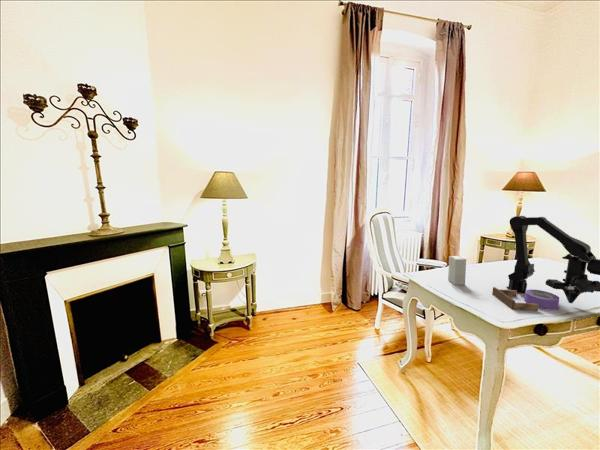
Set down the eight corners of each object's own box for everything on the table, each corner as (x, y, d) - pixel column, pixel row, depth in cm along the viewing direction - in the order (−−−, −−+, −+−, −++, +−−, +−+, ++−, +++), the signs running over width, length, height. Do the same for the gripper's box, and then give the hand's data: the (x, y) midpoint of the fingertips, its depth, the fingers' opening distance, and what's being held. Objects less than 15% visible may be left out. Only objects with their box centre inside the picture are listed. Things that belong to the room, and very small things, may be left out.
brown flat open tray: (511, 309, 118) (512, 300, 117) (492, 294, 133) (493, 287, 132) (538, 311, 116) (539, 302, 115) (515, 296, 131) (516, 288, 131)
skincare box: (465, 285, 145) (467, 259, 143) (453, 285, 146) (456, 259, 144) (457, 279, 154) (459, 255, 151) (446, 279, 154) (449, 255, 152)
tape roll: (546, 312, 115) (547, 301, 115) (517, 300, 126) (519, 290, 126) (564, 308, 119) (566, 297, 118) (535, 297, 130) (536, 288, 129)
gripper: (566, 275, 112) (561, 309, 114) (618, 277, 108) (611, 313, 111) (547, 267, 122) (542, 298, 125) (593, 269, 119) (588, 301, 122)
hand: (570, 302), depth 120 cm, fingers closed
